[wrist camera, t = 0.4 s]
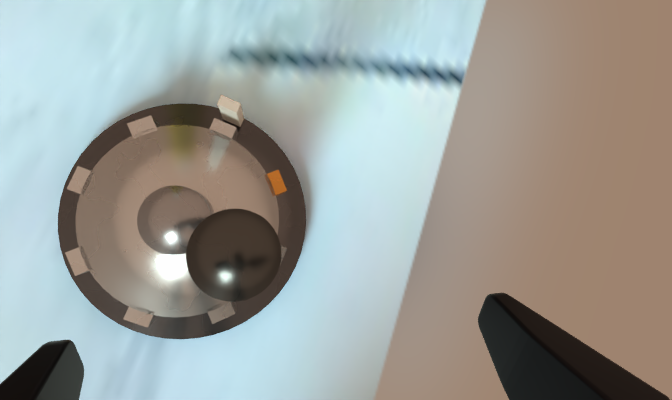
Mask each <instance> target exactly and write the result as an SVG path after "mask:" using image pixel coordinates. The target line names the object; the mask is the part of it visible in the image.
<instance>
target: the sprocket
mask: <svg viewBox="0 0 672 400" xmlns="http://www.w3.org/2000/svg"><path fill="white" fill-rule="evenodd" d="M127 125H128V127H129V130H130V132H131V134H132V136H131V137H129V138H127V139H125V140H123V141H122V142H120V143H119V144H117V145H116V146H114V147H113V148H112V149H111V150H110V151H109V152H107V153H106V154H105V155H104V156H103V157H102V158H101V159H100V161H99V162H98V163H97V164H96V165H95V166H94V168H93V169H92V170H91V169H87V168H84V167H80V166H77V169H76V171H75V173H74V175H73V177H72V179H71V181H70V183H69V185H68V187H67V189H68V190H71V191H73V192H76V193H79V194H80V197H79V200H78V204H77V211H76V235H77V242H78V245H79V247H78V248H76V249H73V250H70V251H68V252H65V254H66V256H67V259H68V261H69V263H70V266H71V268H72V270H73V272H74V275H75V276H77V275H80V274H83V273H86V272H89V271H90V273H91V274H92V276H93V277H94V279H95V280H96V281H97V282H98V283H99V284H100V285H101V287H102V288H103V289H104V290H106V291H107V292H108V293H109V294H110V295H111V296H112V297H114V298H115V299H117V300H118V301H120V302H122V303H123V304H125V305H127V306H129V307H128V310H127V312H126V314H125V316H124V318H123V319H124V320H127V321H130V322H133V323H135V324H138V325H141V326H144V327H147V328H148V327H149V326H150V325H151V324H152V323H153V322H154V321H155V320H156V319H157V317H158V316H162V317H190V316H195V315H200V314H204V313H208V315H209V317H210V320H211V322H212V324H214V323H216V322H218V321H221V320H223V319H225V318H227V317H229V316H232V315H234V314H235V313H236V310H237V305H236V303H235V302H236V301H243V300H247V299H250V298H252V297H254V296H256V295H258V294H260V293H261V292H262V291H264V290H265V289H266V288H267V287H268V286H269V285H270V284H271V282H272V281H273V280H274V278H275V276H276V275H277V272H278V270H279V267H280V264H281V262H282V259H283V257H284V255H285V252H286V250H287V248H286V246H284V245H281V244H280V241H279V238H278V227H279V210H278V204H277V198H276V196H278V195H280V194H283V193H285V192H286V191H287V189H286V187H285V184H284V182H283V179H282V177H281V175H280V172H279V170H276V171H273V172H271V173H268V174H266V172H265V170H264V169H263V167H262V166H261V164H260V163H259V162H258V161H257V159H256V158H255V157H254V156H253V155H252V154H251V153H250V152H249V151H248V150H247V149H246V148H244V147H243V146H242V145H240V144H239V143H238V142H236V138H237V136H238V130H237V127H234V126H232V125H230V124H227V123H225V122H223V121H220V120H218V119H216V118H214V120H213V122H212V124H211V126H210V129H207V128H203V127H198V126H191V125H168V126H161V125H160V123H159V122H158V121H157V120H156V119H155V118H154V117H153V116H151V115H150V116H148V117H145V118H142V119H139V120H136V121H133V122H130V123H127Z"/></svg>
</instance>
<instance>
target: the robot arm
mask: <svg viewBox="0 0 672 400" xmlns="http://www.w3.org/2000/svg"><path fill="white" fill-rule="evenodd" d="M478 323H479V328H480V330H481V333H482V335H483V338H484V340H485V343H486V345H487V348H488V350H489V353H490V356H491V358H492V361H493V363H494V366H495V368H496V371H497V373H498V376H499V378H500V381H501V383H502V385H503V387H504V390H505V391H506V394H507V396H508V398H509V400H670V399H669V398H668V397H667V396H666V395H664V394H663V393H661V392H660V391H658V390H656V389H655V388H653V387H652V386H650V385H648V384H647V383H645V382H644V381H642V380H641V379H639V378H637V377H636V376H634V375H633V374H631V373H630V372H628V371H627V370H625V369H624V368H622V367H620V366H619V365H617V364H616V363H614V362H613V361H611V360H609V359H608V358H606V357H605V356H603V355H602V354H600V353H598V352H597V351H595V350H594V349H592V348H590V347H589V346H588V345H586V344H584V343H583V342H581V341H580V340H578V339H577V338H575V337H573V336H572V335H570V334H569V333H567V332H566V331H564V330H562V329H561V328H559V327H558V326H556V325H555V324H553V323H552V322H550V321H548V320H547V319H545V318H544V317H542V316H541V315H539V314H537V313H536V312H534V311H533V310H531V309H530V308H528V307H526V306H525V305H523V304H522V303H520V302H519V301H517V300H516V299H514V298H512V297H511V296H509V295H507V294H505V293H495V294H489V295H488V296H487V297H486V299H485V301H484V304H483V306H482V309H481V311H480V314H479V317H478ZM83 377H84V366H83V363H82V361H81V359H80V356H79V354H78V352H77V349H76V347H75V345H74V343H73V342H72V341H71V340H60V341H51V342H48V343H46V344H44V345H42V346H41V347H40V348H39V349H38V350H37V351H36V352H35V353H34V354H32V355H31V356H30V357H29V358H28V359H27V360H26V361H25V362H24V363H23V364H22V365H21V366H19V367H18V368H17V369H16V370H15V371H14V372H13V373H12V374H11V375H10V376H9V377H7V378H6V379H5V380H4V381H3V382H2V383H1V384H0V400H79V396H80V392H81V387H82V382H83Z"/></svg>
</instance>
